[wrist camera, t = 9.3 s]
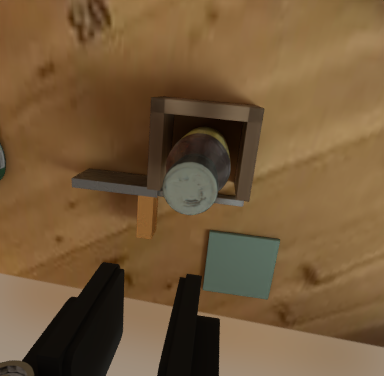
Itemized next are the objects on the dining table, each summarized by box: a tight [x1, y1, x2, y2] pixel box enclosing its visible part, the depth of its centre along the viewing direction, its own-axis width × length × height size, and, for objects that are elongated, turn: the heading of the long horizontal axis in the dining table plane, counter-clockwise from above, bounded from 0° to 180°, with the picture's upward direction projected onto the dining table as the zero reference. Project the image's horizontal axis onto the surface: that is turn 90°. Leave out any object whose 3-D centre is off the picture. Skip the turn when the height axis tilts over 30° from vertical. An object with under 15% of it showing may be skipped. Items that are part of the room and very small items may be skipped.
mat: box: [203, 230, 280, 299], centre depth 45 cm, size 10×10×1 cm
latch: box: [72, 169, 162, 239], centre depth 41 cm, size 11×7×5 cm, turn 85°
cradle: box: [147, 97, 264, 206], centre depth 37 cm, size 20×13×7 cm, turn 85°
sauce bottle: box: [162, 126, 231, 215], centre depth 31 cm, size 7×6×20 cm
